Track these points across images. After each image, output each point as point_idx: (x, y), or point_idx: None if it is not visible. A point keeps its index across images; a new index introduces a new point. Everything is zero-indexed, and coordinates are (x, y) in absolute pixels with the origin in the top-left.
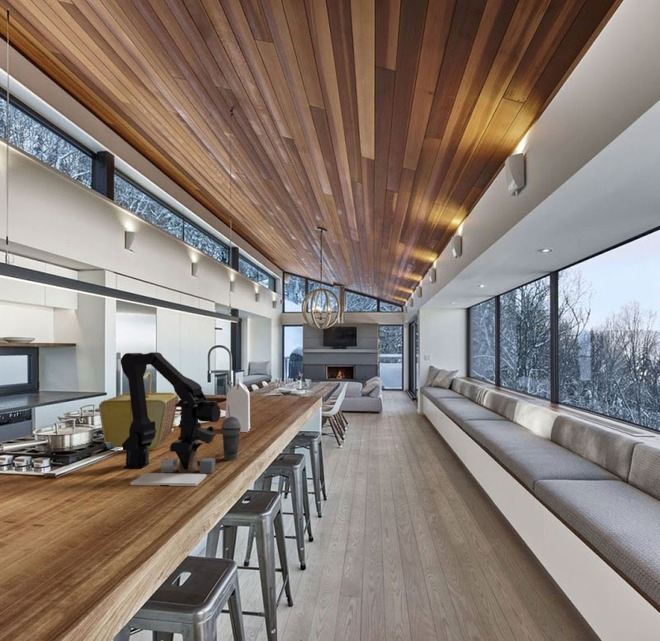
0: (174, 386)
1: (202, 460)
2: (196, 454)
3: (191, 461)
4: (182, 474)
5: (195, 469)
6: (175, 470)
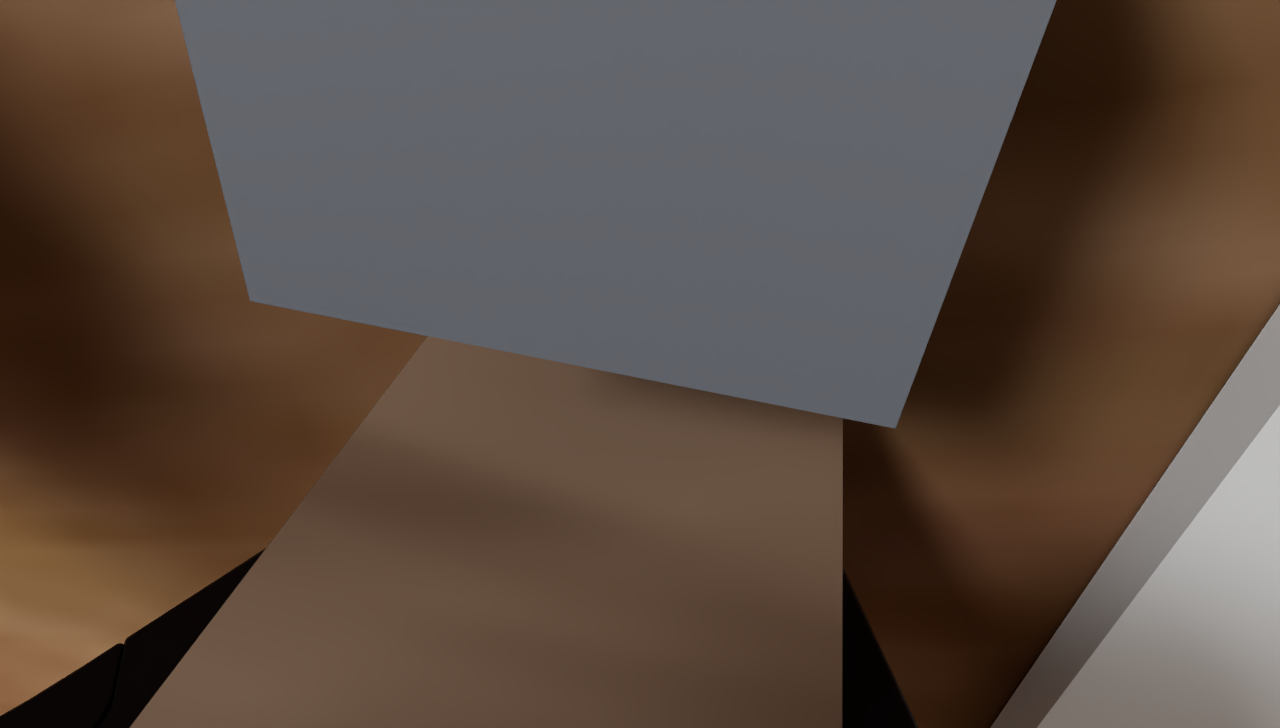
0: None
1: (770, 312)
2: (302, 719)
3: (833, 686)
4: (1234, 607)
5: None
6: None
